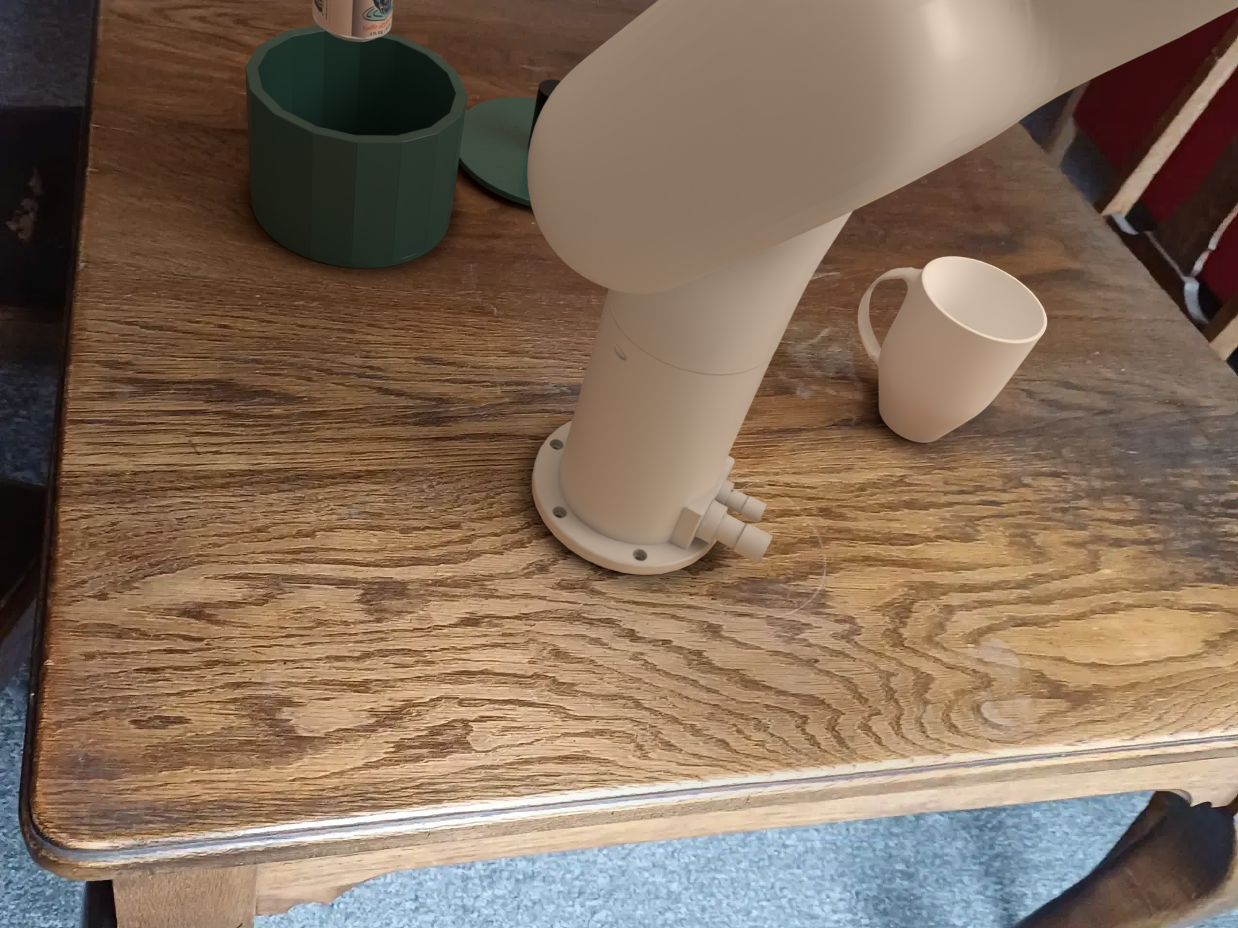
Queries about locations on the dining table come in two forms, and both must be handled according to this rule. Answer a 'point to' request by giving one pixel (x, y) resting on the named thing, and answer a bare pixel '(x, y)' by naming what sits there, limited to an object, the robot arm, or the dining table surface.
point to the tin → (353, 146)
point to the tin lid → (502, 142)
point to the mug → (950, 344)
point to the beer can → (354, 18)
